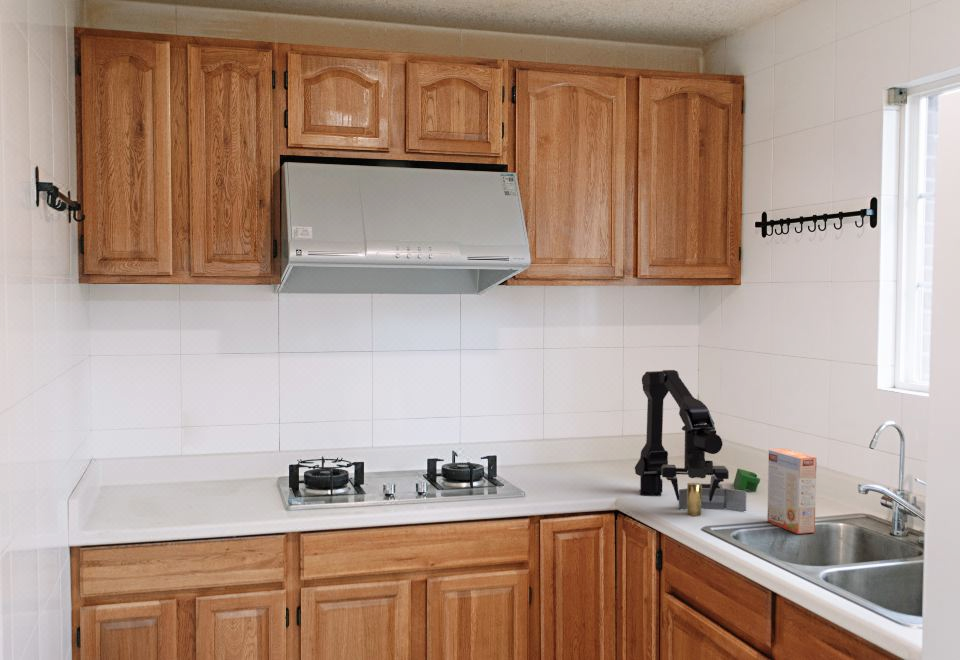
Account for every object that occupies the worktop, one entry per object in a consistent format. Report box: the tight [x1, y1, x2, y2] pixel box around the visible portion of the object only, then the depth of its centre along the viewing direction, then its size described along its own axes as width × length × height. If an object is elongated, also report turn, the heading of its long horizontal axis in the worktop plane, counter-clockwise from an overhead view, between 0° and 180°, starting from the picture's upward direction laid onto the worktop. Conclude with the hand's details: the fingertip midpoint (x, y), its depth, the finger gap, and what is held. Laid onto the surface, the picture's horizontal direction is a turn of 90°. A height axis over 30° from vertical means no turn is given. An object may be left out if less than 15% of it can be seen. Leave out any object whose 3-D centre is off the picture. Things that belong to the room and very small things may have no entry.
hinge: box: [678, 483, 748, 512], centre depth 271 cm, size 20×10×6 cm, turn 83°
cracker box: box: [766, 448, 817, 535], centre depth 248 cm, size 14×6×21 cm, turn 17°
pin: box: [686, 482, 702, 517], centre depth 262 cm, size 4×4×9 cm
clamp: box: [733, 468, 761, 493], centre depth 294 cm, size 12×6×9 cm, turn 165°
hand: (694, 500), depth 262 cm, fingers open, 9 cm apart
